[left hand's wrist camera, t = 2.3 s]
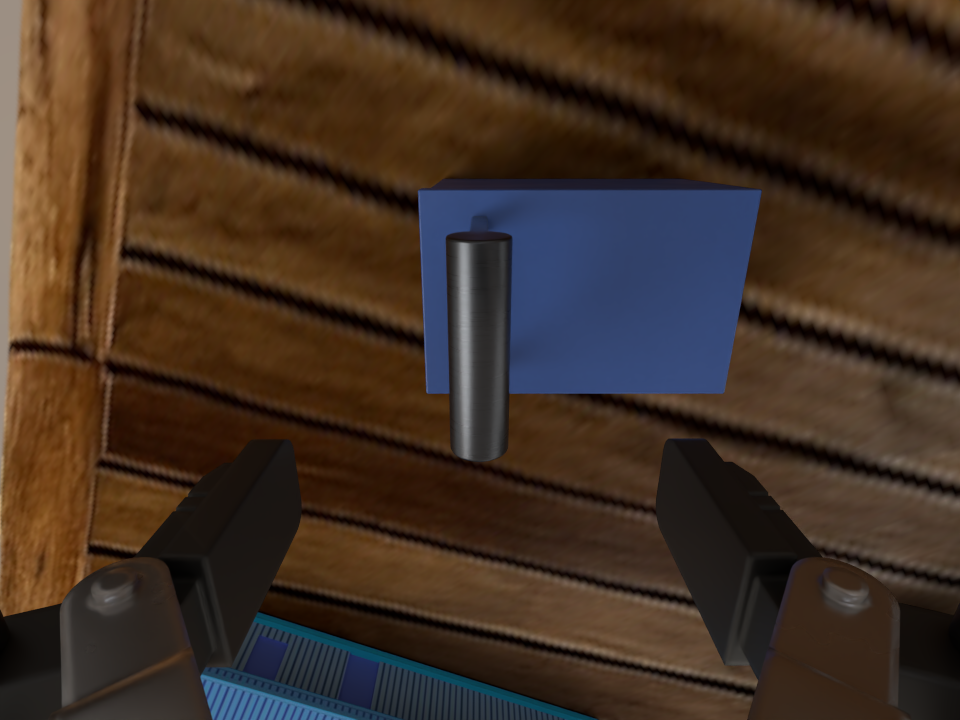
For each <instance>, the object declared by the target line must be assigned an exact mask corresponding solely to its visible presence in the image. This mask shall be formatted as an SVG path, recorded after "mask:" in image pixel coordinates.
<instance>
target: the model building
mask: <svg viewBox="0 0 960 720" xmlns="http://www.w3.org/2000/svg"><path fill="white" fill-rule="evenodd" d="M201 681H202V684H203V688H204V691H205V695H206V698H207V701H208V705H209V708H210V712H211V715H212V719H213V720H598V719H595V718H592V717H589V716H585V715H582V714H579V713H576V712H573V711H570V710H566V709H563V708H560V707H557V706H554V705H551V704H548V703H544V702H541V701H538V700H535V699H532V698H529V697H525V696H522V695H519V694H516V693H513V692H510V691H506V690H503V689H500V688H497V687H494V686H491V685H487V684H484V683H481V682H478V681H475V680H472V679H468V678H465V677H462V676H459V675H456V674H453V673H449V672H446V671H443V670H440V669H437V668H434V667H430V666H427V665H424V664H421V663H418V662H415V661H411V660H408V659H405V658H402V657H399V656H396V655H392V654H389V653H386V652H383V651H380V650H377V649H373V648H370V647H367V646H364V645H361V644H358V643H354V642H351V641H348V640H345V639H342V638H339V637H335V636H332V635H329V634H326V633H323V632H320V631H316V630H313V629H310V628H307V627H304V626H301V625H297V624H294V623H291V622H288V621H285V620H282V619H278V618H275V617H272V616H269V615H266V614H263V613H259V612H258V613H257V615H256V617H255V619H254V621H253V623H252V625H251V627H250V629H249V632H248V634H247V636H246V638H245V640H244V642H243V644H242V646H241V648H240V650H239V652H238V654H237V656H236V658H235V661H234V663H233V665H232V667H205V669H204V671H203V673H202V675H201Z"/></svg>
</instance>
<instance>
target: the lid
mask: <svg viewBox="0 0 960 720" xmlns="http://www.w3.org/2000/svg"><path fill="white" fill-rule="evenodd" d="M761 192H762V190H760V189H754V188H421V189H420V190H418V201H419V225H420V249H421V273H422V297H423V321H424V345H425V369H426V392H427V393H449V400H450V441H451V449H452V451H453V453H454V454H455V455H456V456H458V457H460V458H462V459H465V460H468V461H475V462H484V461H490V460H494V459H497V458H499V457H501V456H502V455H503V454H505V452H506V451H507V449H508V430H509V393H724V391H725V385H726V380H727V375H728V369H729V364H730V358H731V353H732V348H733V342H734V337H735V332H736V326H737V321H738V316H739V310H740V305H741V300H742V294H743V289H744V283H745V278H746V273H747V267H748V262H749V257H750V251H751V246H752V241H753V235H754V230H755V224H756V219H757V214H758V208H759V203H760V198H761Z"/></svg>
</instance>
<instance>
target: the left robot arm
mask: <svg viewBox="0 0 960 720" xmlns="http://www.w3.org/2000/svg"><path fill="white" fill-rule="evenodd" d="M656 515H657V521H658V525H659V528H660V530H661V533H662V535H663V537H664V539H665V541H666V543H667V545H668V547H669V549H670V551H671V554H672V556H673V558H674V560H675V562H676V564H677V566H678V568H679V570H680V572H681V575H682V577H683V579H684V581H685V583H686V585H687V587H688V589H689V591H690V593H691V595H692V598H693V600H694V602H695V604H696V606H697V608H698V610H699V612H700V614H701V616H702V619H703V621H704V623H705V625H706V627H707V629H708V631H709V633H710V635H711V637H712V640H713V642H714V644H715V646H716V648H717V650H718V652H719V654H720V656H721V658H722V661H723V663H724V665H750V666H751V668H752V669H753V671H754V673H755V675H756V677H757V679H758V684H757V688H756V691H755V695H754V698H753V701H752V705H751V708H750V712H749V715H748V719H747V720H960V603H959V606H958V608H957V610H956V613H955V615H950V614H946V613H941V612H937V611H932V610H928V609H924V608H919V607H915V606H910V605H906V604H902V603H898V602H897V600H896V599H895V597H894V596H893V594H892V593H891V592H890V591H889V590H888V589H887V588H886V587H885V586H884V585H883V584H882V583H881V582H880V581H878V580H877V579H876V578H874V577H873V576H871V575H870V574H868V573H866V572H865V571H863V570H861V569H859V568H857V567H855V566H852V565H850V564H847V563H844V562H841V561H838V560H834V559H830V558H823V557H822V556H821V555H820V553H819V552H818V551H817V550H816V549H815V548H814V546H813V545H812V544H811V543H810V542H809V540H808V539H807V538H806V537H805V536H804V535H803V533H802V532H801V531H800V530H799V529H798V527H797V526H796V525H795V524H794V523H793V522H792V520H791V519H790V518H789V517H788V516H787V514H786V513H785V512H784V511H783V510H780V506H779V505H778V504H777V503H776V501H775V500H774V499H773V498H772V497H771V496H768V492H767V491H766V490H765V488H764V487H763V486H762V485H761V484H760V482H759V481H758V480H757V479H756V478H755V477H754V476H753V475H752V474H750V473H749V472H747V471H745V470H744V469H742V468H741V467H739V466H738V465H736V464H735V463H733V462H724V461H723V460H722V459H721V457H720V456H719V455H718V453H717V452H716V451H715V450H714V448H713V447H712V446H711V445H710V443H709V442H708V441H707V440H706V439H668V440H667V441H666V443H665V445H664V450H663V456H662V463H661V470H660V477H659V483H658V490H657V497H656ZM300 518H301V496H300V489H299V482H298V476H297V469H296V462H295V456H294V450H293V446H292V443H291V442H290V441H289V440H251V441H250V442H249V443H248V444H247V445H246V447H245V448H244V449H243V450H242V452H241V453H240V454H239V455H238V457H237V458H236V459H235V460H234V462H233V463H224V464H222V465H221V466H219V467H217V468H216V469H214V470H213V471H211V472H210V473H208V474H207V475H205V476H204V477H202V478H201V480H200V481H199V482H198V483H197V484H196V485H195V487H194V488H193V489H192V490H191V491H190V492H189V494H188V497H185V498H184V499H183V501H182V502H181V503H180V504H179V505H178V506H177V508H176V511H173V512H172V514H171V515H170V516H169V517H168V518H167V519H166V521H165V522H164V523H163V524H162V525H161V526H160V528H159V529H158V530H157V531H156V532H155V533H154V535H153V536H152V537H151V538H150V539H149V540H148V542H147V543H146V544H145V545H144V546H143V547H142V549H141V550H140V551H139V552H138V553H137V555H136V556H135V557H134V558H130V559H126V560H122V561H119V562H116V563H113V564H110V565H108V566H105V567H103V568H101V569H99V570H97V571H95V572H94V573H92V574H90V575H89V576H87V577H86V578H84V579H83V580H82V581H80V582H79V583H78V584H77V585H76V586H75V587H74V588H73V589H72V590H71V591H70V592H69V593H68V594H67V596H66V597H65V599H64V600H63V602H62V603H61V604H57V605H53V606H49V607H44V608H40V609H36V610H31V611H27V612H23V613H18V614H14V615H9V616H5V617H3V615H2V612H1V610H0V720H213V719H212V715H211V712H210V708H209V705H208V701H207V698H206V695H205V691H204V688H203V684H202V681H201V675H202V673H203V671H204V669H205V667H232V665H233V663H234V661H235V658H236V656H237V654H238V652H239V650H240V648H241V646H242V644H243V642H244V640H245V638H246V636H247V634H248V632H249V629H250V627H251V625H252V623H253V621H254V619H255V617H256V615H257V613H258V611H259V609H260V607H261V605H262V603H263V600H264V598H265V596H266V594H267V592H268V590H269V588H270V586H271V584H272V582H273V580H274V578H275V576H276V574H277V571H278V569H279V567H280V565H281V563H282V561H283V559H284V557H285V555H286V553H287V551H288V549H289V547H290V545H291V542H292V540H293V538H294V536H295V534H296V532H297V530H298V527H299V523H300Z"/></svg>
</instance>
